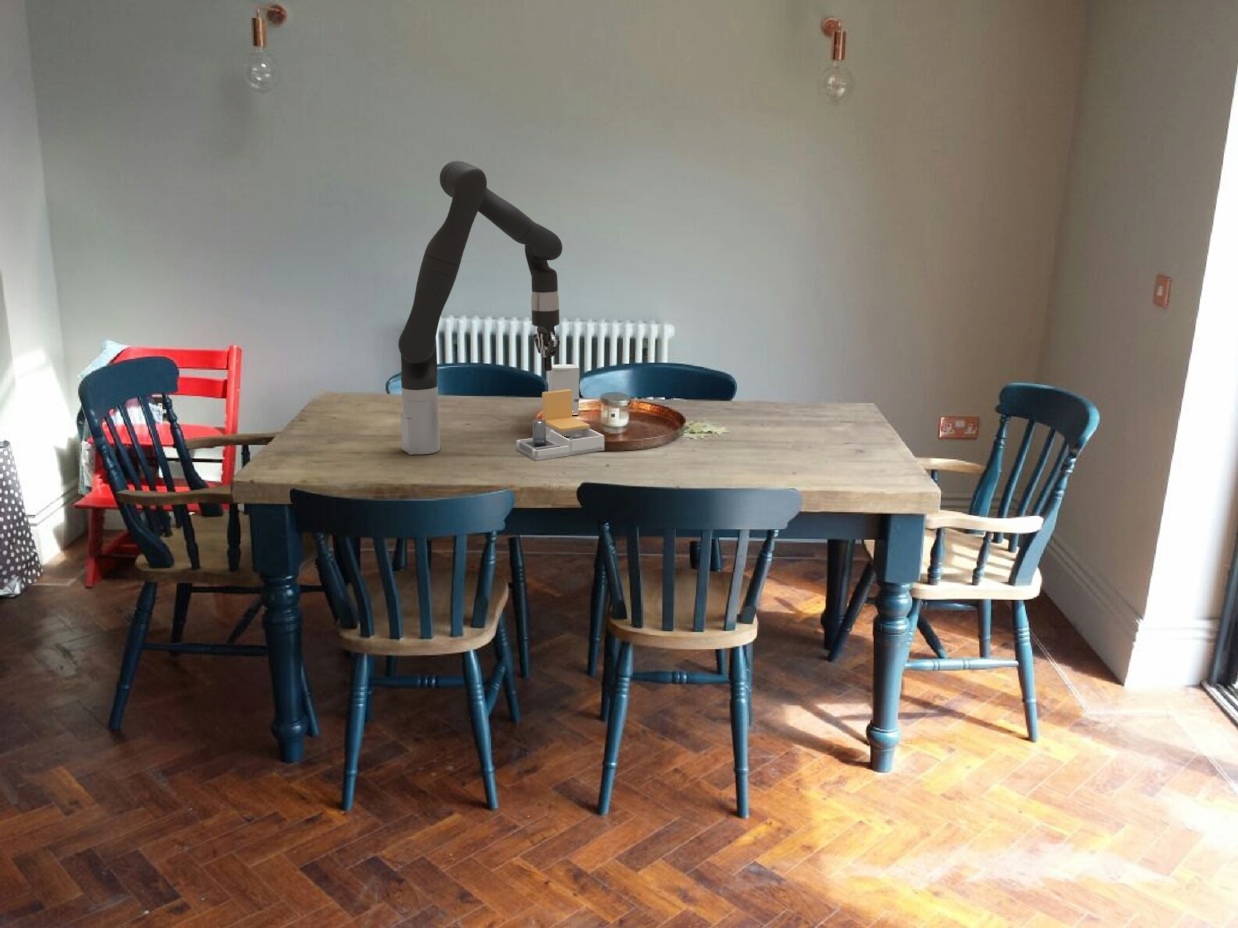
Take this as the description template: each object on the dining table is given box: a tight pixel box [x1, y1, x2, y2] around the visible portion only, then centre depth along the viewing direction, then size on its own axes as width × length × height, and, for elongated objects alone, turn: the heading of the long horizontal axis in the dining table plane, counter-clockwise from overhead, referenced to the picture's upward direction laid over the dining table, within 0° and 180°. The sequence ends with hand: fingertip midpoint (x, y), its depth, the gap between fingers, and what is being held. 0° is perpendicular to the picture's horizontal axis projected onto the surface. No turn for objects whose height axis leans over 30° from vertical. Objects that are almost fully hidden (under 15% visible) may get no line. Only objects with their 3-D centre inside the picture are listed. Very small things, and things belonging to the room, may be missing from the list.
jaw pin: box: [532, 419, 547, 448], centre depth 295 cm, size 4×4×8 cm
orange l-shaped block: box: [540, 389, 591, 432], centre depth 306 cm, size 9×12×8 cm
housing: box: [515, 425, 605, 461], centre depth 302 cm, size 20×20×4 cm
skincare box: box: [547, 363, 580, 414], centre depth 334 cm, size 8×6×15 cm
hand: (547, 370), depth 313 cm, fingers closed
